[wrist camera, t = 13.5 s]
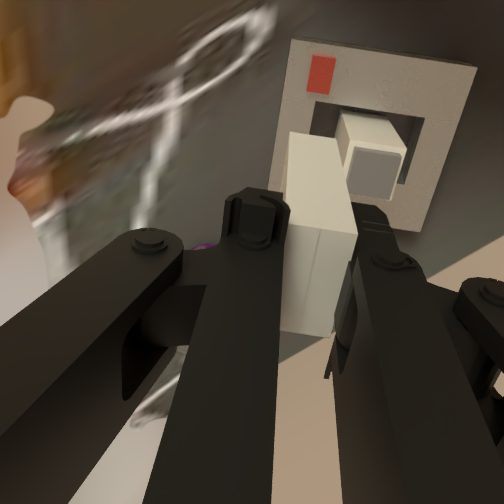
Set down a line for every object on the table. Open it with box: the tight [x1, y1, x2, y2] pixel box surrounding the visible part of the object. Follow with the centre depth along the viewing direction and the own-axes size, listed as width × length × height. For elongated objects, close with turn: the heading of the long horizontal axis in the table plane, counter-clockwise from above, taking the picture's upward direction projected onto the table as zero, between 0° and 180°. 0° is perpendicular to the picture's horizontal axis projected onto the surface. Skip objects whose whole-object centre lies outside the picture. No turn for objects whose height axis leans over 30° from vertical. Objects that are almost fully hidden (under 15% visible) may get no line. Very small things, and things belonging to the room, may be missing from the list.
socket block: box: [268, 35, 478, 232], centre depth 46 cm, size 16×16×4 cm
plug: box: [334, 109, 407, 201], centre depth 42 cm, size 4×4×11 cm
